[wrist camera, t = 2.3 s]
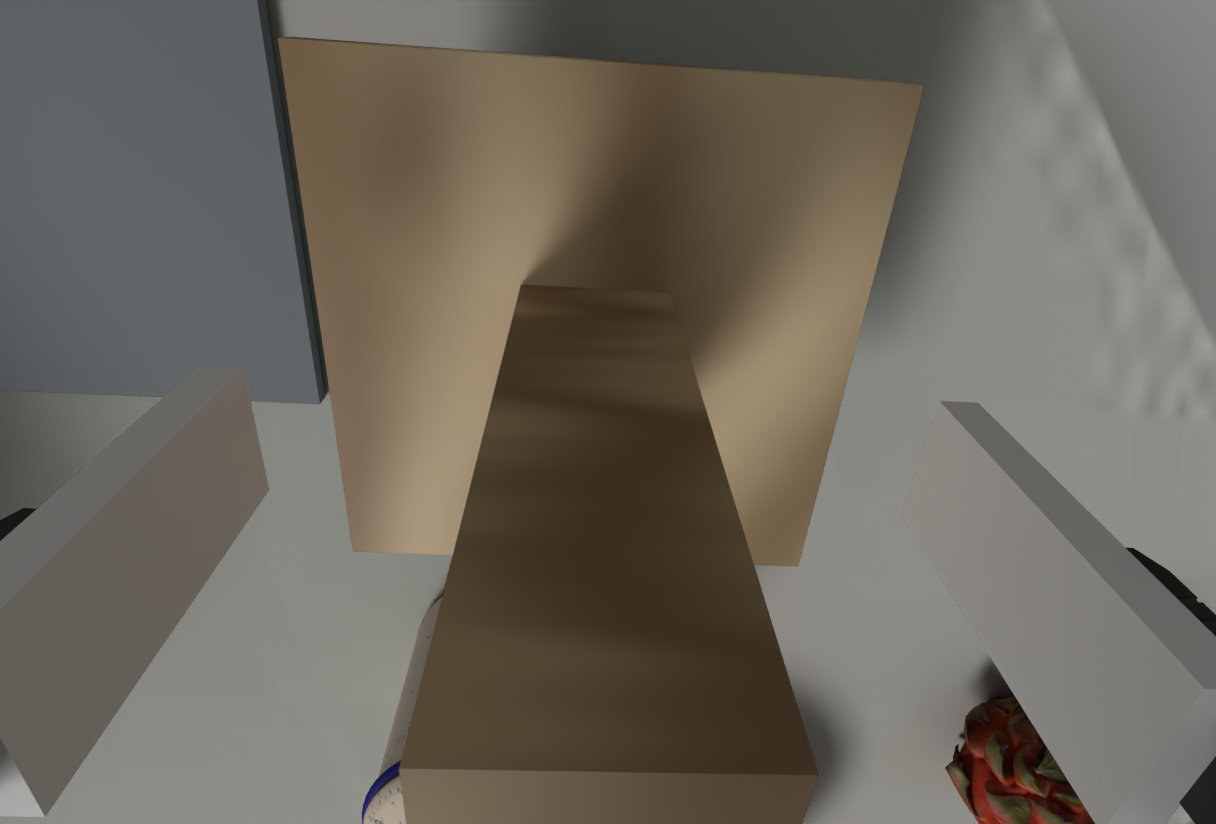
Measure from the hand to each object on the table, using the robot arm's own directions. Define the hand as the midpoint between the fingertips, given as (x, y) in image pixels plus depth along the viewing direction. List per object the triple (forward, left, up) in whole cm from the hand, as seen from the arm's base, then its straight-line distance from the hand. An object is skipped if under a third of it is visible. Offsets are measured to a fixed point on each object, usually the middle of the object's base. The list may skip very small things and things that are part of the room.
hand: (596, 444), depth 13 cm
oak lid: (0, 0, -5) cm, 5 cm away
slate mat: (-16, +1, -11) cm, 20 cm away
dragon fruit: (+23, -23, -12) cm, 35 cm away
